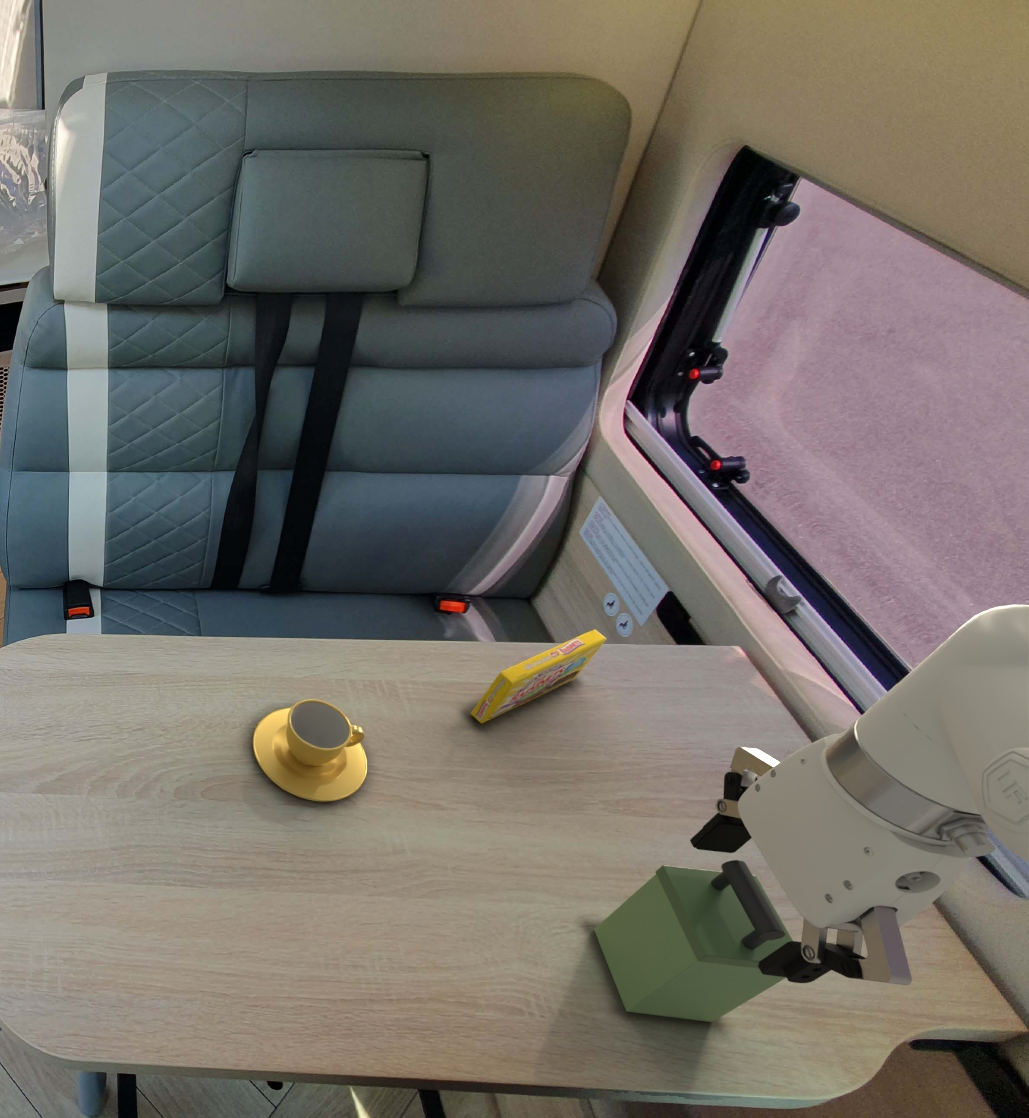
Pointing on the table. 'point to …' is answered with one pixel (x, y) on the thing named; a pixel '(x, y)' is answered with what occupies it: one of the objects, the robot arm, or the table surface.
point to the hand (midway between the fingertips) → (743, 906)
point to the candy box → (537, 675)
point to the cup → (311, 751)
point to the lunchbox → (692, 942)
